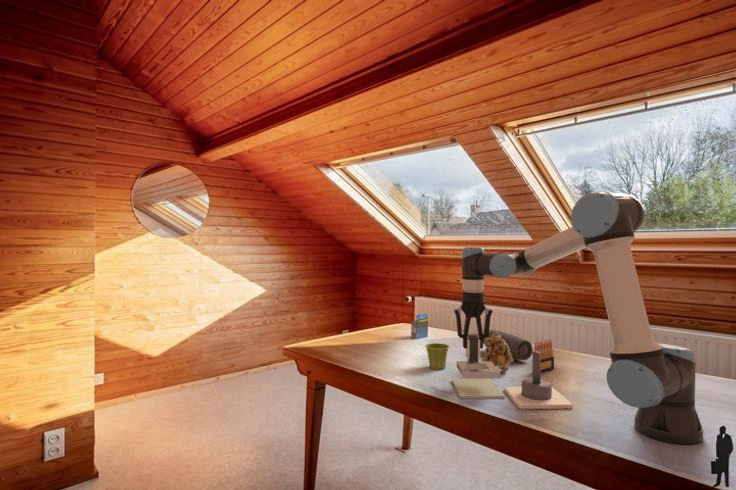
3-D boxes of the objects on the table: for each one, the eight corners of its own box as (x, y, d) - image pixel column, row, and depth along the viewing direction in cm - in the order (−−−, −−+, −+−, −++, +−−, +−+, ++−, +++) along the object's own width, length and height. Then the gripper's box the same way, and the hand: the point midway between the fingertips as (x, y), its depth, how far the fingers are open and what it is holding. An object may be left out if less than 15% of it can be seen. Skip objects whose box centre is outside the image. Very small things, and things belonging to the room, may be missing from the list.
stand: (572, 408, 135) (572, 359, 135) (519, 408, 135) (519, 359, 135) (551, 390, 151) (551, 345, 151) (504, 390, 151) (504, 346, 151)
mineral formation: (491, 364, 182) (491, 327, 182) (518, 372, 171) (518, 333, 170) (477, 367, 178) (477, 329, 177) (504, 376, 166) (503, 335, 166)
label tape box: (422, 335, 234) (422, 312, 234) (428, 337, 231) (428, 313, 231) (410, 338, 228) (410, 314, 228) (416, 339, 225) (416, 315, 225)
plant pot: (422, 369, 176) (421, 347, 175) (430, 363, 184) (430, 342, 184) (445, 372, 171) (444, 350, 171) (452, 366, 180) (452, 344, 179)
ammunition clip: (536, 374, 168) (536, 342, 168) (532, 373, 170) (532, 341, 169) (554, 369, 174) (554, 338, 174) (550, 368, 175) (550, 337, 175)
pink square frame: (500, 378, 144) (500, 344, 144) (463, 378, 145) (463, 344, 144) (489, 364, 159) (489, 333, 159) (455, 364, 159) (455, 333, 159)
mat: (504, 398, 144) (504, 395, 144) (460, 398, 144) (460, 395, 144) (491, 381, 161) (491, 378, 161) (451, 381, 161) (451, 378, 161)
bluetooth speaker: (534, 362, 184) (534, 338, 184) (515, 364, 181) (515, 340, 180) (498, 349, 205) (498, 327, 205) (481, 351, 202) (481, 329, 202)
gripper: (493, 289, 161) (493, 354, 161) (448, 289, 161) (448, 354, 162) (499, 292, 153) (498, 360, 154) (451, 292, 153) (451, 360, 154)
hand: (472, 357), depth 158 cm, fingers closed on pink square frame, 3 cm apart
